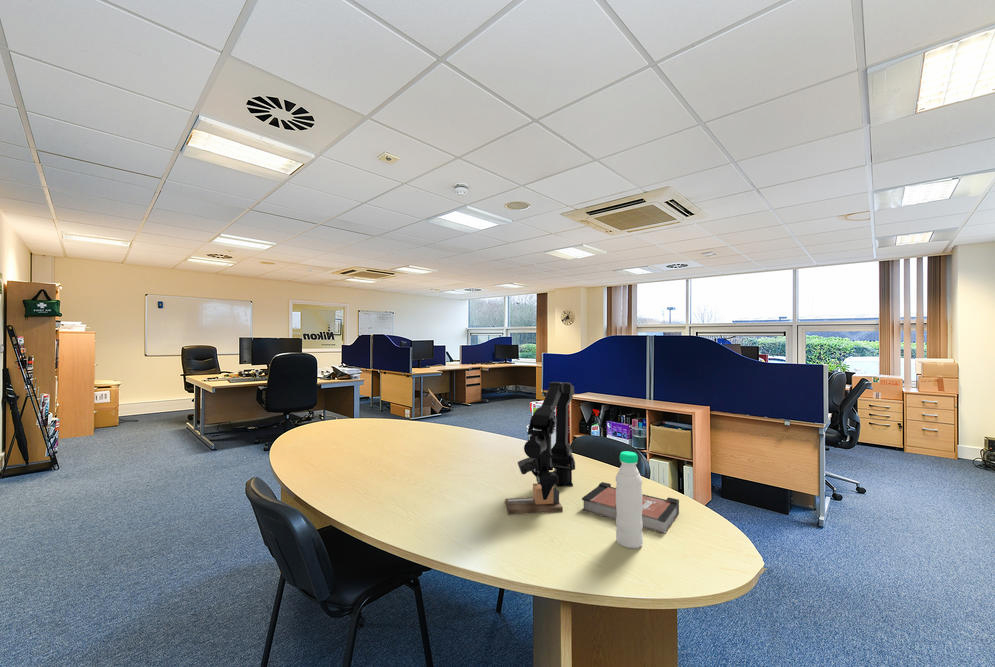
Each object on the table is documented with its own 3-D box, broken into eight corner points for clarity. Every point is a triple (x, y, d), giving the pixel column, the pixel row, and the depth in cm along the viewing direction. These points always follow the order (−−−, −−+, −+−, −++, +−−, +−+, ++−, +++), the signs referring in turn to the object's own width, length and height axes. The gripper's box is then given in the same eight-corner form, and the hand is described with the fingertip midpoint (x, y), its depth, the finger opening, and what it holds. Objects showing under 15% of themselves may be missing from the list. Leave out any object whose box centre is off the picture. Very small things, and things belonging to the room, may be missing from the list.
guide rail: (556, 499, 136) (556, 487, 136) (559, 504, 132) (559, 492, 132) (507, 501, 134) (507, 489, 134) (509, 506, 130) (508, 494, 130)
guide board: (555, 500, 138) (555, 496, 138) (562, 511, 129) (562, 507, 129) (505, 503, 136) (505, 498, 136) (508, 514, 127) (508, 509, 127)
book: (581, 512, 130) (580, 497, 130) (602, 495, 144) (602, 482, 144) (664, 536, 114) (664, 519, 114) (679, 515, 128) (678, 499, 128)
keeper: (549, 498, 136) (549, 482, 136) (553, 504, 131) (553, 488, 131) (532, 498, 135) (532, 483, 136) (535, 504, 130) (535, 489, 131)
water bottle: (629, 552, 105) (628, 458, 105) (610, 540, 111) (610, 451, 111) (648, 545, 108) (647, 454, 108) (628, 534, 114) (628, 448, 115)
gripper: (515, 443, 142) (515, 487, 142) (524, 459, 123) (524, 509, 123) (545, 442, 143) (545, 485, 143) (559, 458, 125) (559, 507, 124)
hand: (543, 496), depth 133 cm, fingers closed on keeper, 5 cm apart
